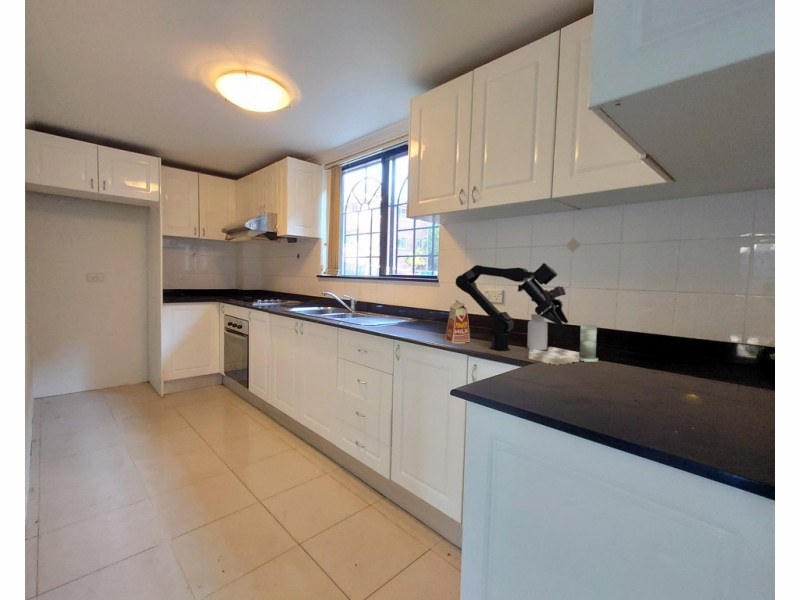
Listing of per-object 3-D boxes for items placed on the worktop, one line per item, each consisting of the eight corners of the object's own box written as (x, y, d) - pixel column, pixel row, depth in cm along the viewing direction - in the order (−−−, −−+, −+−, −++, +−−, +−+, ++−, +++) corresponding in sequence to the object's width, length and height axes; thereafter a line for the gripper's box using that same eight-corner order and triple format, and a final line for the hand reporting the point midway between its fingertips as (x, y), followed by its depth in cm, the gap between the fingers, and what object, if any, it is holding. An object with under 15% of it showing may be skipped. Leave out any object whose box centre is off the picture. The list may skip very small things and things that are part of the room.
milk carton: (444, 340, 165) (445, 299, 164) (461, 340, 168) (462, 299, 167) (453, 344, 156) (454, 300, 155) (471, 343, 159) (472, 300, 158)
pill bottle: (528, 346, 153) (529, 313, 152) (547, 348, 149) (548, 314, 148) (526, 349, 146) (527, 314, 145) (546, 351, 142) (547, 315, 141)
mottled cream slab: (528, 358, 128) (529, 349, 128) (550, 355, 133) (550, 346, 133) (556, 365, 117) (557, 355, 117) (578, 361, 123) (579, 352, 123)
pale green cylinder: (572, 359, 127) (574, 324, 126) (584, 358, 130) (585, 324, 129) (590, 363, 121) (592, 327, 120) (602, 361, 124) (603, 326, 123)
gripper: (546, 278, 124) (577, 311, 118) (558, 279, 139) (586, 308, 133) (523, 298, 129) (551, 331, 123) (537, 297, 144) (563, 326, 138)
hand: (564, 323), depth 129 cm, fingers open, 9 cm apart
